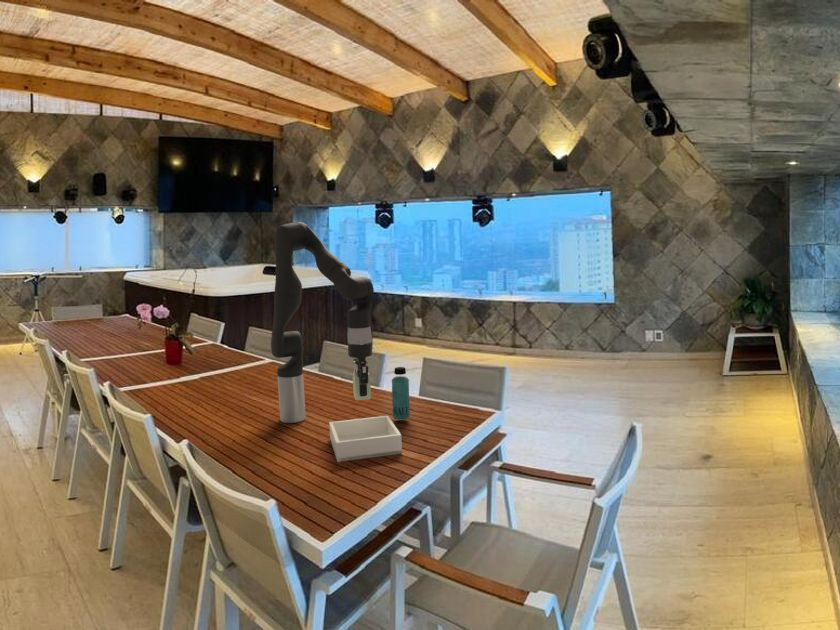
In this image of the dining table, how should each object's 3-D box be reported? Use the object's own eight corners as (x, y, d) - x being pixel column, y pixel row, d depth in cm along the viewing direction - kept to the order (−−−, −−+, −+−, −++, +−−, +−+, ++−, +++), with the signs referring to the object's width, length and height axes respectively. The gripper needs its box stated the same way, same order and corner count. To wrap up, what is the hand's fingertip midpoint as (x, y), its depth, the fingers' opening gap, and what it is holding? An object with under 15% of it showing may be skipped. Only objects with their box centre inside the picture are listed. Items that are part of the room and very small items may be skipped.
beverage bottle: (402, 417, 210) (400, 364, 207) (414, 420, 205) (412, 367, 202) (388, 421, 205) (386, 367, 203) (401, 425, 201) (399, 370, 198)
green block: (353, 396, 181) (352, 372, 180) (368, 394, 182) (367, 370, 181) (355, 400, 177) (354, 375, 176) (371, 398, 178) (369, 374, 177)
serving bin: (330, 439, 189) (329, 422, 188) (388, 432, 194) (387, 415, 193) (337, 461, 170) (336, 442, 169) (402, 453, 175) (401, 434, 174)
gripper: (344, 338, 183) (347, 389, 185) (351, 346, 169) (353, 401, 172) (367, 336, 185) (369, 386, 187) (375, 344, 171) (377, 398, 173)
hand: (362, 393), depth 179 cm, fingers closed on green block, 4 cm apart
